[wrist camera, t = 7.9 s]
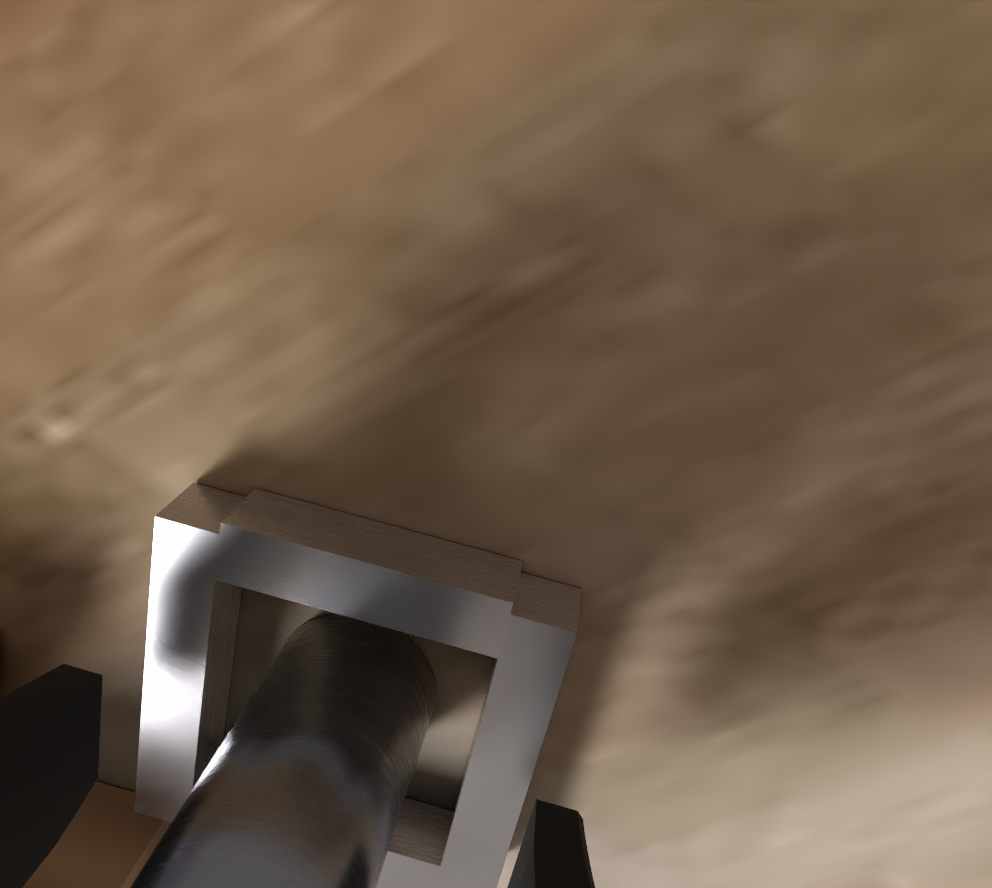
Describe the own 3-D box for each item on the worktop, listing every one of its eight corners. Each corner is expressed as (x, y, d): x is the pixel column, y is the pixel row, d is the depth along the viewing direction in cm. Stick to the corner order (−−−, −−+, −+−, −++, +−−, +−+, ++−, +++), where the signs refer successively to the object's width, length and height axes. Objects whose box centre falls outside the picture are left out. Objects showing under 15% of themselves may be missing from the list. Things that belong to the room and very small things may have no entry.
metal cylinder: (289, 594, 14) (6, 1005, 8) (451, 639, 14) (299, 1094, 8) (269, 723, 15) (7, 1176, 9) (419, 766, 15) (265, 1257, 9)
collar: (193, 471, 13) (156, 504, 12) (584, 578, 13) (580, 621, 12) (167, 770, 16) (133, 819, 15) (494, 865, 16) (484, 922, 15)
